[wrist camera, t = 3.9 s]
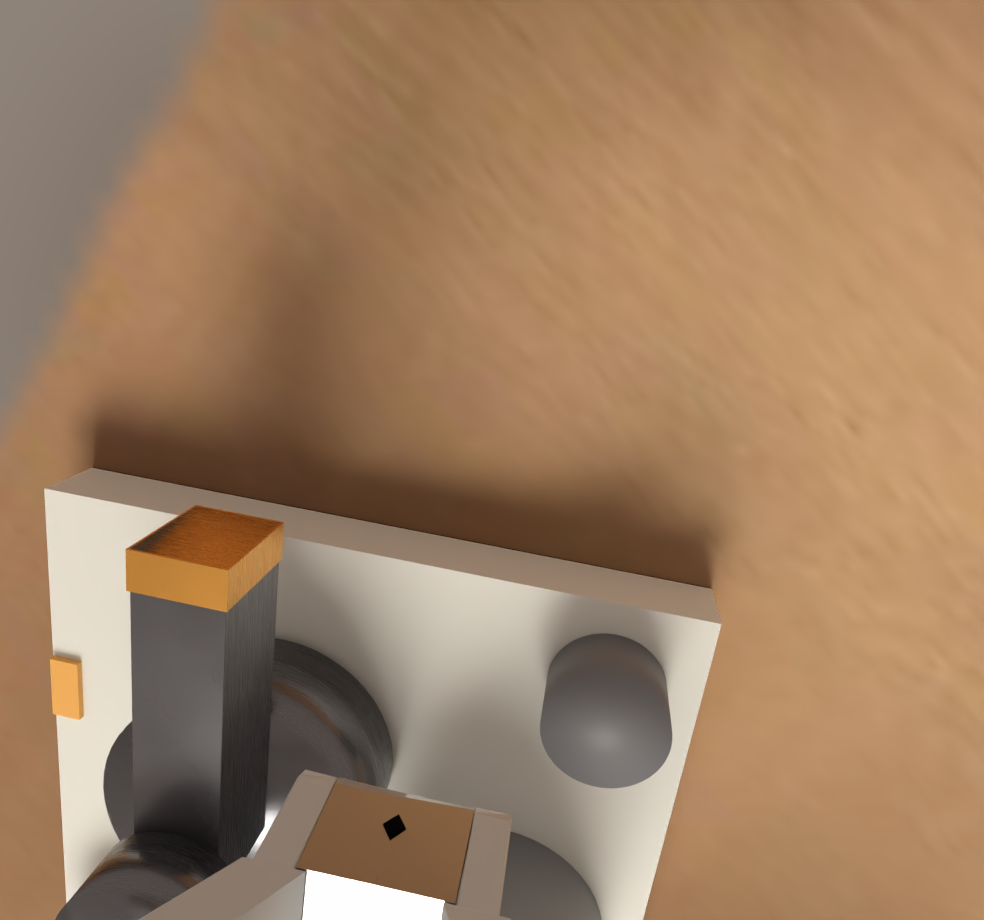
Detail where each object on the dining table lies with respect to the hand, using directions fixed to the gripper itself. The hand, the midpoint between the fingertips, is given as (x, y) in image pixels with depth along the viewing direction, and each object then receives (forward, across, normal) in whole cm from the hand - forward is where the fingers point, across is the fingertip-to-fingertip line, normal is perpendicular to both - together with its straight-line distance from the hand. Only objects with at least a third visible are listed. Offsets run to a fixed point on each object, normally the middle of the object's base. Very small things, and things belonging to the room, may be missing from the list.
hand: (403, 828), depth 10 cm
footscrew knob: (+9, +5, +5) cm, 12 cm away
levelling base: (+12, +3, +10) cm, 16 cm away
